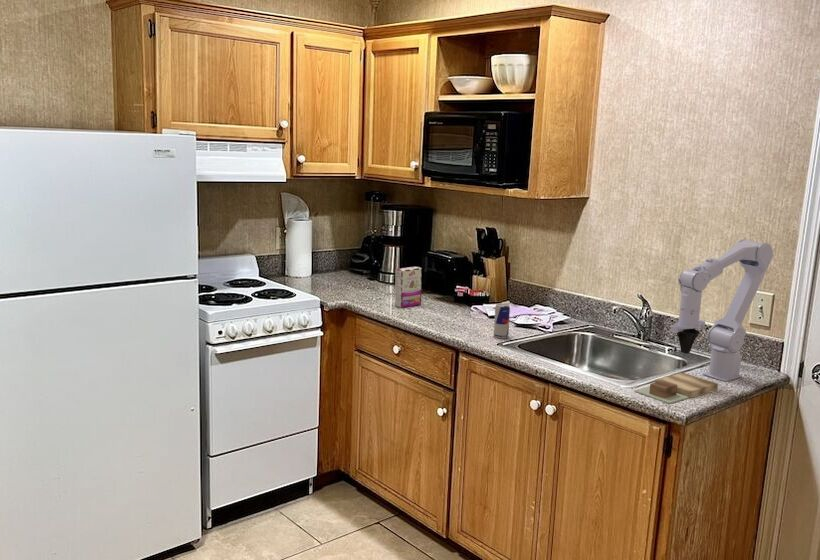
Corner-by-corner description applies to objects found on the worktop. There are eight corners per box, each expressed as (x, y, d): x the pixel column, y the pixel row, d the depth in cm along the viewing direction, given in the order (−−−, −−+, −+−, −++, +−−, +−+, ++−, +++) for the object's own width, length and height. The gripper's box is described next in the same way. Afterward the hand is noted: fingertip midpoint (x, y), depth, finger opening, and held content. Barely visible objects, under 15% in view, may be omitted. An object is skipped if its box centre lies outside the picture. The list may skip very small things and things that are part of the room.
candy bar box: (413, 303, 326) (415, 266, 323) (421, 305, 322) (422, 267, 319) (393, 306, 319) (394, 268, 316) (401, 308, 315) (402, 270, 312)
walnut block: (661, 389, 220) (662, 380, 220) (676, 394, 217) (677, 384, 216) (649, 393, 217) (650, 383, 216) (664, 398, 213) (665, 388, 212)
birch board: (682, 378, 233) (683, 372, 233) (717, 389, 223) (717, 383, 223) (654, 386, 225) (654, 379, 224) (689, 398, 215) (690, 391, 215)
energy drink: (506, 339, 271) (508, 307, 269) (491, 337, 273) (493, 305, 271) (509, 336, 276) (511, 304, 274) (495, 334, 278) (497, 303, 276)
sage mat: (653, 386, 225) (653, 385, 225) (688, 398, 215) (688, 397, 215) (634, 391, 219) (634, 390, 219) (669, 404, 210) (669, 402, 210)
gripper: (687, 314, 218) (682, 359, 220) (715, 309, 226) (710, 352, 229) (666, 309, 223) (662, 353, 226) (695, 304, 232) (690, 346, 234)
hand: (685, 352), depth 228 cm, fingers closed
